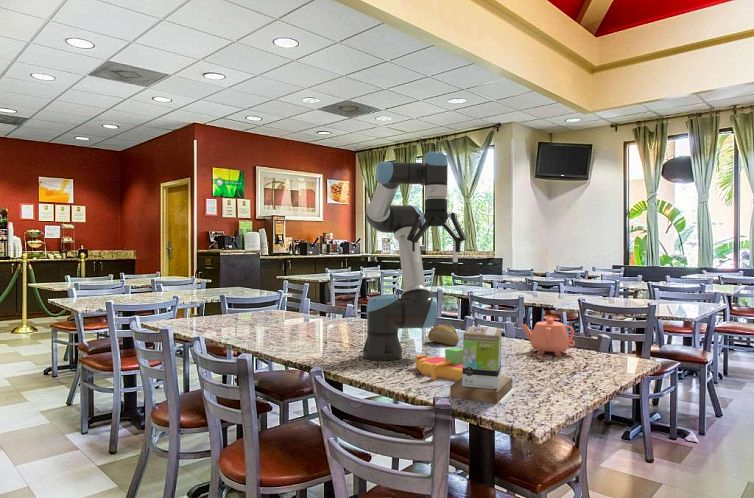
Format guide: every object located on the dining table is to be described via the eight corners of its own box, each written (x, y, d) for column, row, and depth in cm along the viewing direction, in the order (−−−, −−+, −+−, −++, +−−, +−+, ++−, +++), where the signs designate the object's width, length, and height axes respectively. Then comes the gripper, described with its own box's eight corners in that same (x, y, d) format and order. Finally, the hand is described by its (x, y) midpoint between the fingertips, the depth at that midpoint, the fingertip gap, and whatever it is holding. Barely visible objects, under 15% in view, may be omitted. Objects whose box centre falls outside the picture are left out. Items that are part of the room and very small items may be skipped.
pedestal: (450, 396, 145) (450, 385, 145) (469, 382, 160) (469, 372, 160) (497, 403, 139) (497, 392, 139) (512, 387, 154) (512, 377, 154)
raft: (434, 363, 191) (434, 338, 191) (509, 377, 171) (510, 349, 171) (393, 375, 174) (393, 347, 174) (472, 392, 154) (472, 361, 154)
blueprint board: (438, 397, 147) (438, 394, 147) (457, 384, 162) (457, 381, 162) (503, 406, 139) (503, 403, 139) (517, 391, 153) (517, 388, 153)
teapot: (519, 350, 213) (519, 317, 213) (551, 347, 221) (551, 315, 221) (549, 358, 199) (549, 322, 199) (581, 354, 206) (582, 320, 206)
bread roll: (436, 340, 237) (436, 322, 237) (464, 344, 227) (464, 325, 226) (422, 342, 230) (423, 324, 230) (450, 347, 220) (450, 328, 220)
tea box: (499, 390, 141) (499, 334, 141) (461, 387, 144) (461, 333, 144) (501, 376, 156) (501, 326, 155) (467, 374, 158) (467, 324, 158)
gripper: (397, 199, 180) (397, 261, 180) (468, 196, 169) (468, 262, 169) (406, 200, 187) (406, 261, 187) (475, 198, 175) (475, 262, 176)
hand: (435, 262), depth 178 cm, fingers open, 13 cm apart
